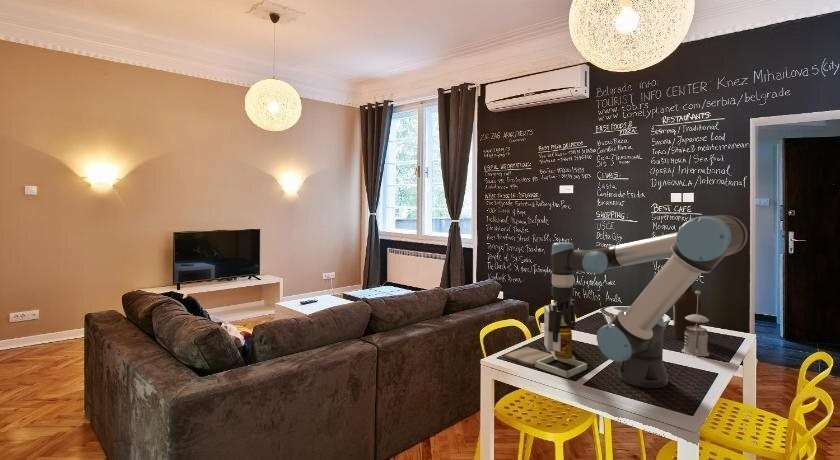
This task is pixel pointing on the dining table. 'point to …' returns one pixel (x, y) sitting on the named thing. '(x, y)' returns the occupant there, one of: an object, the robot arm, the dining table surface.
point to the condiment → (564, 343)
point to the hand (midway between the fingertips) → (562, 348)
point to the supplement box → (548, 335)
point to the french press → (696, 335)
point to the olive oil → (685, 312)
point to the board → (527, 355)
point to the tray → (580, 367)
